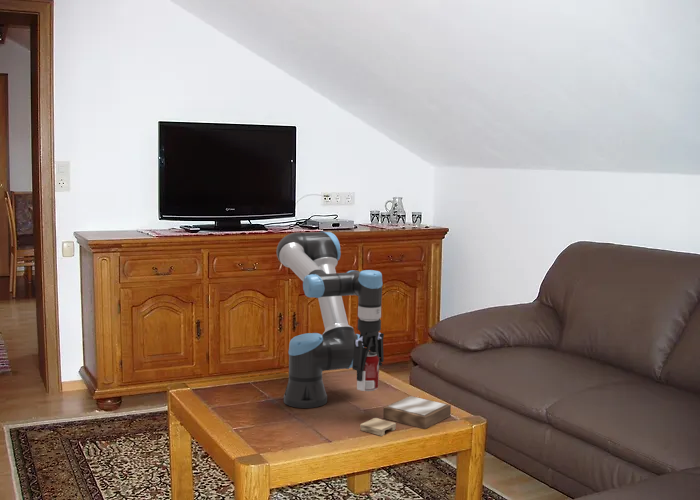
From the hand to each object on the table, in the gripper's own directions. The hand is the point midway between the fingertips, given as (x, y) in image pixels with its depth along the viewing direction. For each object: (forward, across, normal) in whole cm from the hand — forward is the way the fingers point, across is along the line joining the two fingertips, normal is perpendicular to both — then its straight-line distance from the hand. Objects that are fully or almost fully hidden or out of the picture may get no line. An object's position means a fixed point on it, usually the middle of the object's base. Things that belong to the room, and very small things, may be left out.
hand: (367, 387), depth 251 cm
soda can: (+1, 0, 0) cm, 1 cm away
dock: (+10, +11, -13) cm, 19 cm away
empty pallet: (+10, -7, -10) cm, 16 cm away
